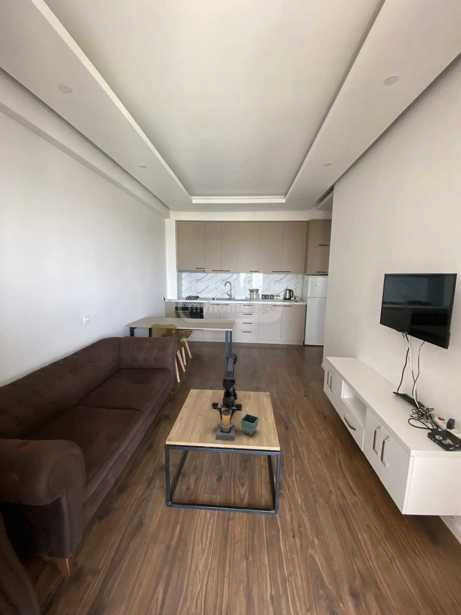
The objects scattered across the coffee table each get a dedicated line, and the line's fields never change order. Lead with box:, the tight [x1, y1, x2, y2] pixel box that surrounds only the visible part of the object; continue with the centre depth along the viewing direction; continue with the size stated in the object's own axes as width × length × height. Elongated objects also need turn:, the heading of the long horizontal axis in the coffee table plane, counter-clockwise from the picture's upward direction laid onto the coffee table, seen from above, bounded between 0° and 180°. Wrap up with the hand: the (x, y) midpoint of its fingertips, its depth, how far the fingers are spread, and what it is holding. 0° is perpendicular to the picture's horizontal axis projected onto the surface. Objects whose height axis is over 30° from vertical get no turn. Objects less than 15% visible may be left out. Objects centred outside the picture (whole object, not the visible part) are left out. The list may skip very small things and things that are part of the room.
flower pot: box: [240, 413, 260, 436], centre depth 157 cm, size 9×9×9 cm
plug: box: [219, 408, 233, 433], centre depth 154 cm, size 7×7×12 cm
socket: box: [215, 423, 236, 441], centre depth 155 cm, size 11×11×3 cm
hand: (225, 421), depth 153 cm, fingers closed on plug, 5 cm apart
